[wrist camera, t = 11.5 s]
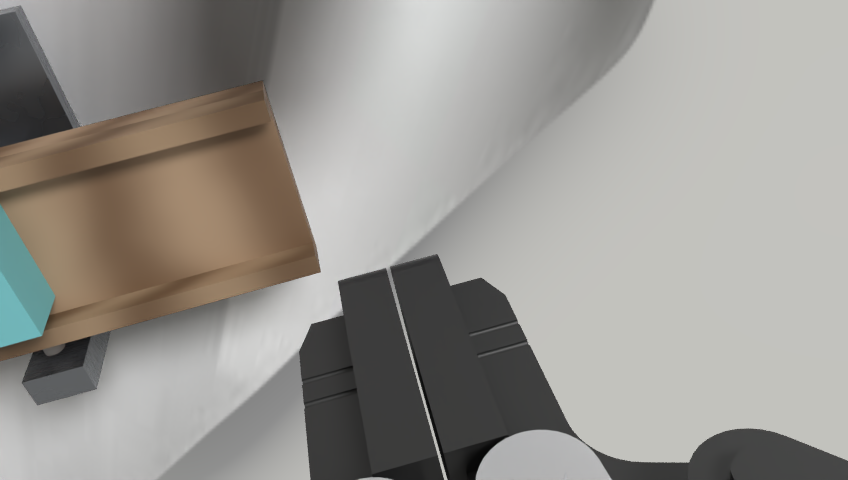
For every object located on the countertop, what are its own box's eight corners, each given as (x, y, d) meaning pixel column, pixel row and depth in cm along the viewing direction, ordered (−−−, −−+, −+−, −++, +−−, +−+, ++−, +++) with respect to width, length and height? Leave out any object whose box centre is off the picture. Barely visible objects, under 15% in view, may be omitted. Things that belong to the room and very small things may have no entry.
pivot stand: (20, 5, 34) (-30, 58, 28) (166, 302, 44) (153, 389, 38) (-156, 47, 34) (-246, 110, 27) (32, 337, 44) (-3, 432, 38)
